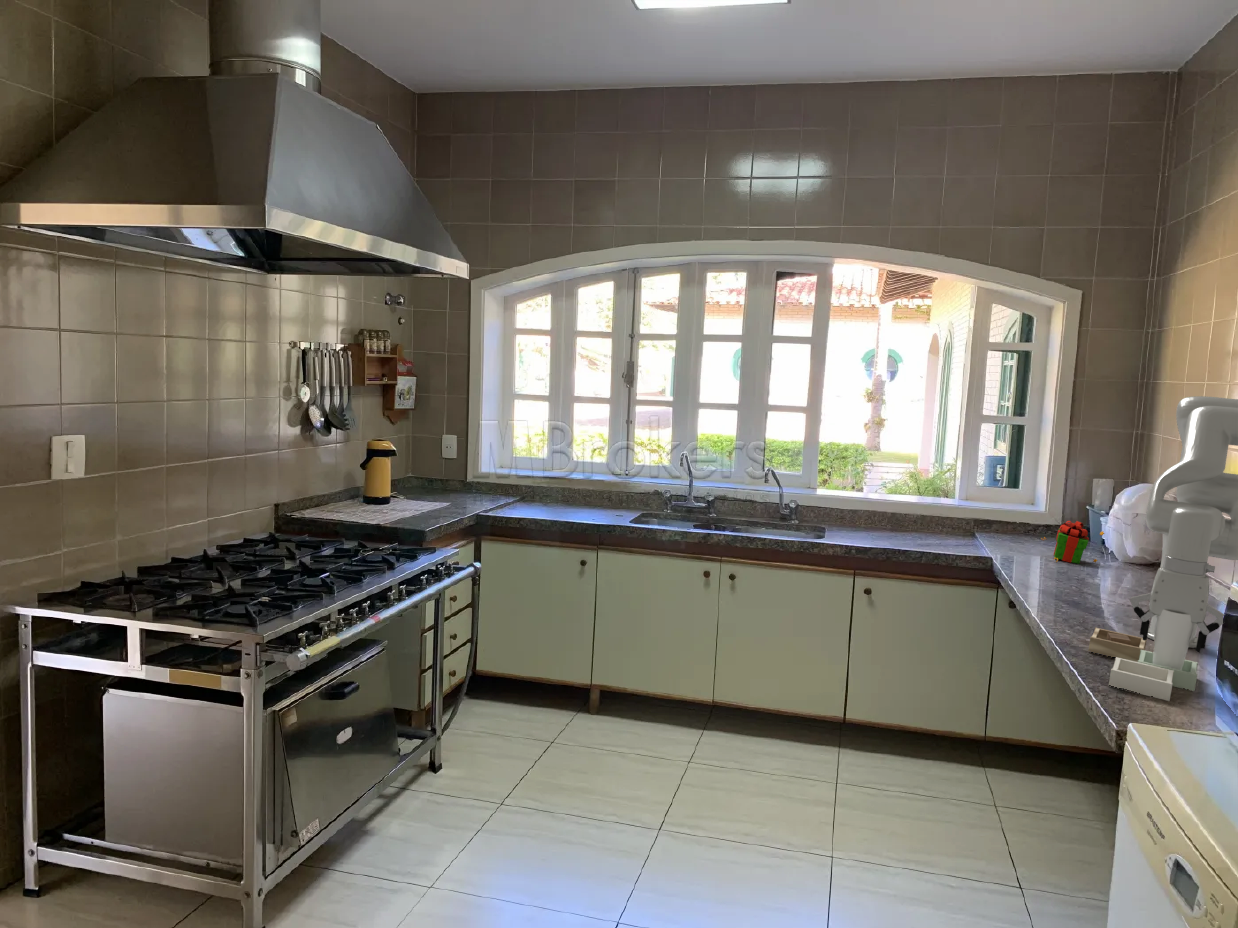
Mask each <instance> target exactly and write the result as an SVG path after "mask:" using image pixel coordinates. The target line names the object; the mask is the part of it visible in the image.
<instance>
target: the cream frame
mask: <svg viewBox="0 0 1238 928" xmlns="http://www.w3.org/2000/svg"><path fill="white" fill-rule="evenodd" d="M1173 675H1174V671H1173V670H1169V669H1164V668H1160V667H1156V666H1152V665H1147V664H1143V663H1139V662H1135V661H1130V660H1126V659H1122V658H1118V657H1116V658H1114V663H1113V667H1112V668H1111V669H1110V675H1109V680H1108V686H1109V685H1111V686H1114V687H1113V688H1115V687H1117V688H1116V689H1119V688H1124V689H1127V690H1131V691H1134V692H1133V693H1135V692H1137V693H1136V694H1139V693H1140V695H1142V696H1143V695H1144V696H1147V697H1151V696H1153V697H1152V698H1155V699H1159V700H1163V701H1167V702H1170V700H1171V695H1172V689H1173V686H1172V684H1173V683H1172V681H1173ZM1111 686H1110V687H1111ZM1127 690H1126V691H1127ZM1131 691H1130V692H1131Z"/></svg>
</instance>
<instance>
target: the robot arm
mask: <svg viewBox="0 0 1238 928" xmlns="http://www.w3.org/2000/svg"><path fill="white" fill-rule="evenodd" d="M1175 417H1176V419H1175V420H1176V426H1177V429H1178V434H1179V437H1180V441H1181V446H1182V448H1181V454H1180V459H1179V462H1178V463H1175V464H1174V465H1173V466H1170V467H1169V468H1168V469H1166V470H1165V471H1164V472H1163V473H1161V474H1160V475H1159V476H1158V477H1157V479H1156V480H1155V481H1154V483H1153V485H1152V487H1151V490H1150V493H1149V497H1148V503H1147V507H1146V512H1145V524H1146V526H1147V528H1148V530H1150V531H1152V532H1154V533H1156V534H1161V535H1162V550H1161V551H1162V552H1161V560H1160V561H1161V562H1160V567H1158V569H1157V571H1156V573H1155V576H1154V580H1153V583H1152V588H1151V591H1150V592H1148V593H1143V594H1139V595H1134V596H1131V597H1130V599H1129V601H1130V603H1131V606H1132V609H1133V612H1134V613H1135V615H1136V616H1137V617H1138V618H1139V619H1140V621H1141V625H1140V628H1139V636H1142V638H1143V640H1147V639H1148V638H1149V640H1153V641H1154V634H1155V623H1156V617H1157V616H1160V615H1161V613H1162V610H1167V611H1171V612H1175V613H1180V614H1188V615H1191V622H1192V623H1194V628H1193V633H1192V637H1191V640H1190V644H1189V647H1188V649H1189V648H1190V649H1191V648H1192V649H1193V648H1195V652H1197V653H1201V649H1205V648H1206V643H1207V637H1208V635H1209V634H1211V633H1213V632H1214V631H1216V630H1218V629H1220V627H1221V626H1222V625H1223V624H1224V623H1223V616H1224V615H1225V613H1223V612H1221V611H1220V610H1219V609H1217V608H1215V607H1214V606H1212V605H1211V604H1209V596H1210V577H1209V575H1207V574H1208V573H1212V574H1213V573H1215V569H1216V566H1215V565H1211V564H1209V560H1208V559H1209V557H1210V558H1217V559H1223V560H1231V561H1238V474H1236V473H1227V472H1225V469H1226V464H1227V458H1228V457H1227V456H1228V453H1229V452H1228V451H1229V446H1236V447H1238V399H1237V398H1227V397H1217V396H1204V395H1203V396H1202V395H1201V396H1199V395H1198V396H1186V397H1184V398H1182V399H1180V401H1178V404H1177V406H1176V413H1175ZM1174 488H1176V491H1175V493H1176V494H1175V497H1176V500H1177V501H1176V500H1169V499H1164V498H1165V495H1166V494H1167V493H1168V492H1169V491H1171V490H1172V489H1174ZM1223 514H1227V515H1228V516H1229V517H1230V519H1229V518H1225V516H1224V515H1223ZM1147 601H1149V603H1148V604H1149V605H1148V610H1147V611H1144V610H1143V609H1142V608H1141V606H1140V603H1141V602H1147ZM1207 613H1209V614H1211V615H1212V616H1213V617H1215V618H1216V619H1215V620H1214V621H1213V622H1211V623H1208V624H1207V623H1206V621H1205V619H1206V616H1207ZM1150 619H1151V621H1150ZM1198 628H1199V630H1200V631H1198V636H1197V630H1198ZM1147 641H1148V640H1147Z"/></svg>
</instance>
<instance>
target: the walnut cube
mask: <svg viewBox="0 0 1238 928" xmlns="http://www.w3.org/2000/svg"><path fill="white" fill-rule="evenodd" d="M1106 640H1109V641H1113V642H1118V643H1122V644H1126V645H1130V642H1131V640H1130V639H1129V638H1128V636H1126V635H1120V634H1114V633H1107V639H1106Z"/></svg>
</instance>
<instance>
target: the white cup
mask: <svg viewBox="0 0 1238 928" xmlns="http://www.w3.org/2000/svg"><path fill="white" fill-rule="evenodd" d="M1193 628H1194V623H1192V622H1191V615H1188V614H1180V613H1175V612H1171V611H1167V610H1162V613H1161V615H1160V616H1157V617H1156V623H1155V634H1154V640H1153V650H1152V651H1153V662H1152V664H1156V665H1160V666H1165V667H1169V668H1173V669H1178V670H1182V668H1183V665H1184V661H1185V660H1186V657H1187V655H1188V651H1189V644H1190V640H1191V637H1192V633H1193Z"/></svg>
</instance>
